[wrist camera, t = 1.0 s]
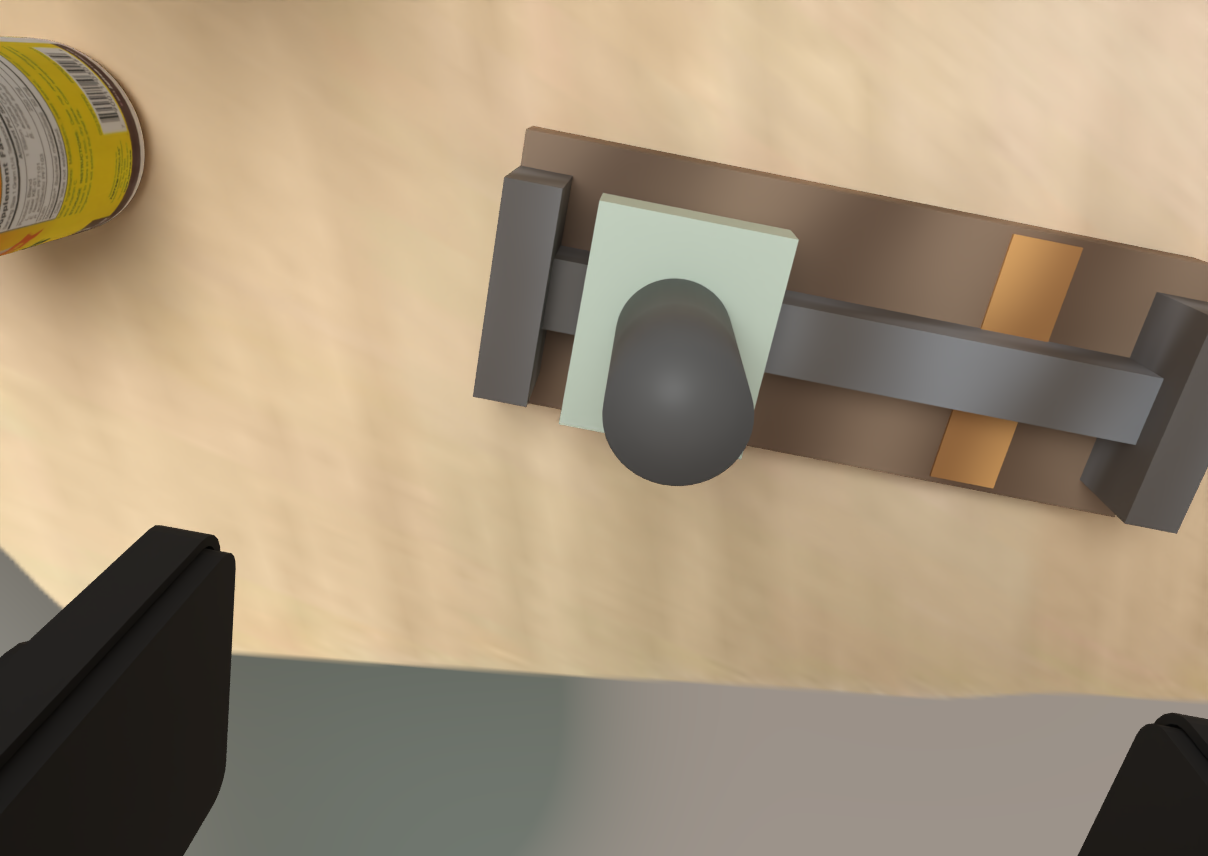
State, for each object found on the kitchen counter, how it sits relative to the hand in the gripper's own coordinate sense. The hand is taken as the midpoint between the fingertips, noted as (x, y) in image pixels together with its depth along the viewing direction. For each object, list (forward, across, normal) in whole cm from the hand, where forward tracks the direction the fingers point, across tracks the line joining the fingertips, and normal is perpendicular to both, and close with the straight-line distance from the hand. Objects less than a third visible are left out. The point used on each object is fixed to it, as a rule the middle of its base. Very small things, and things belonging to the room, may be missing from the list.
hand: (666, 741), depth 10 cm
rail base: (+21, -6, 0) cm, 22 cm away
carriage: (+19, 0, 0) cm, 19 cm away
